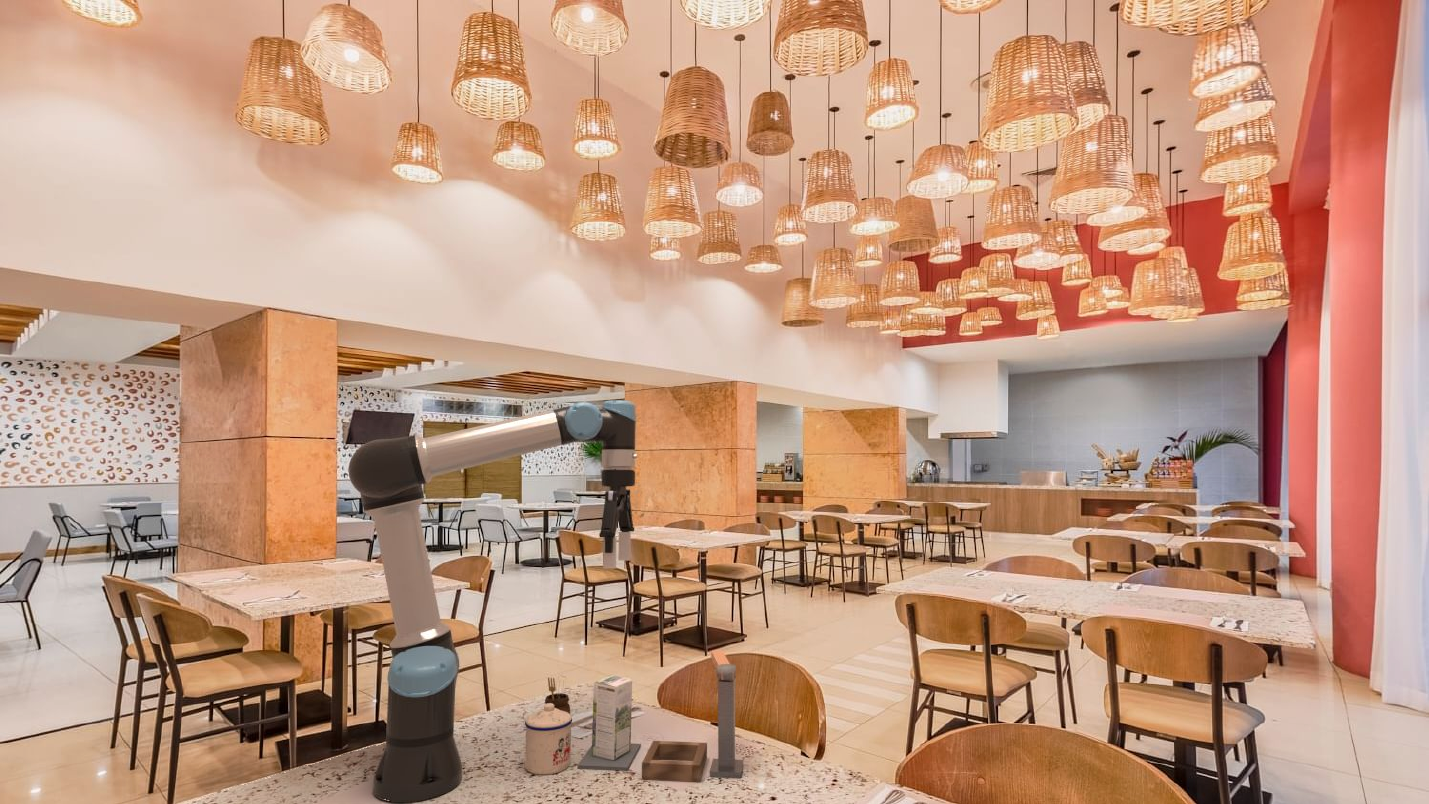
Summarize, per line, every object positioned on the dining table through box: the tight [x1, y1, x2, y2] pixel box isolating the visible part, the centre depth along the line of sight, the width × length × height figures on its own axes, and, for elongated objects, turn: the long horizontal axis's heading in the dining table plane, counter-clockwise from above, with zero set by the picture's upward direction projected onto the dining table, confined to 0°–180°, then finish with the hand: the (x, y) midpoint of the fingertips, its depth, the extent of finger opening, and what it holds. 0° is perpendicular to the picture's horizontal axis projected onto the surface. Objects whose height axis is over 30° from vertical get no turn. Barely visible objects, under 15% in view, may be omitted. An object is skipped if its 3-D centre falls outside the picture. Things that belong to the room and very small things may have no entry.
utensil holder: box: [544, 675, 571, 715], centre depth 159 cm, size 6×6×12 cm
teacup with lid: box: [524, 703, 573, 775], centre depth 141 cm, size 12×9×12 cm
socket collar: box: [641, 740, 708, 783], centre depth 138 cm, size 11×11×3 cm
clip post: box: [709, 678, 744, 779], centre depth 137 cm, size 6×6×17 cm
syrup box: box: [591, 675, 633, 760], centre depth 144 cm, size 6×6×14 cm
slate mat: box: [576, 742, 642, 772], centre depth 143 cm, size 10×12×1 cm
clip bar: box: [710, 649, 737, 680], centre depth 145 cm, size 16×4×2 cm, turn 7°
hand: (617, 564), depth 159 cm, fingers open, 13 cm apart
